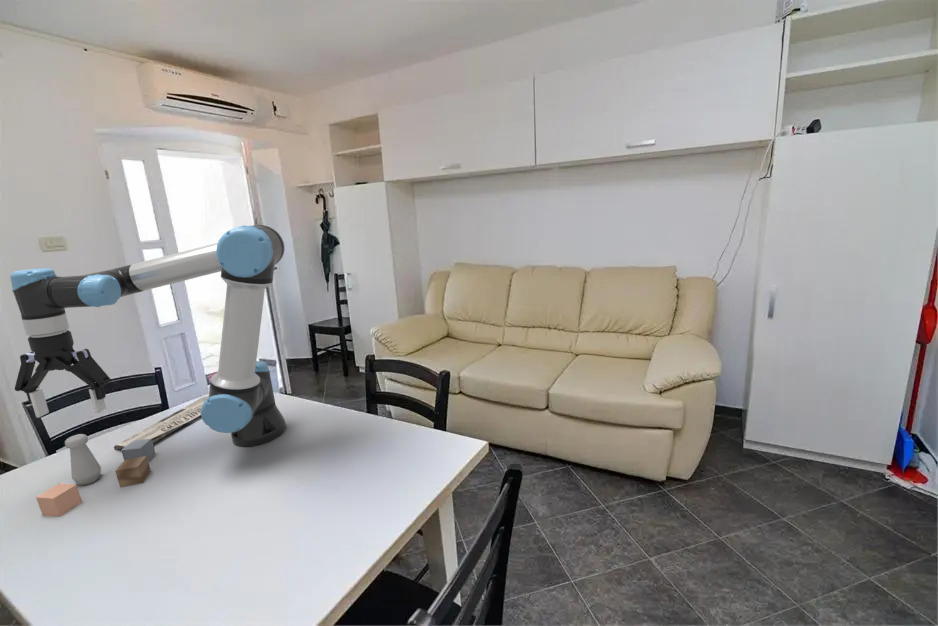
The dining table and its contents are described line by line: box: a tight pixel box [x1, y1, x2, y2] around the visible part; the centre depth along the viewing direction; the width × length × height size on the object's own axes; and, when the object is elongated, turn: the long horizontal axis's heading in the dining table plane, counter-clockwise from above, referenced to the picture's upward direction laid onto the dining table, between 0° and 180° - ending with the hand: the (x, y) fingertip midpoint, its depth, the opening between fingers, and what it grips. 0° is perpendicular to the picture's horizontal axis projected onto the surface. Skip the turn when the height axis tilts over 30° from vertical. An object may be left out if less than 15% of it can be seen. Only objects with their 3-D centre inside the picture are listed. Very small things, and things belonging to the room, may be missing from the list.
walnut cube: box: [114, 456, 152, 488], centre depth 109 cm, size 5×5×5 cm
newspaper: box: [113, 394, 209, 450], centre depth 139 cm, size 35×12×4 cm, turn 168°
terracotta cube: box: [35, 483, 83, 517], centre depth 99 cm, size 5×5×5 cm
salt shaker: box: [64, 433, 102, 486], centre depth 109 cm, size 6×6×13 cm
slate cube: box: [120, 439, 157, 461], centre depth 118 cm, size 5×5×5 cm
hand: (72, 413), depth 106 cm, fingers open, 13 cm apart
